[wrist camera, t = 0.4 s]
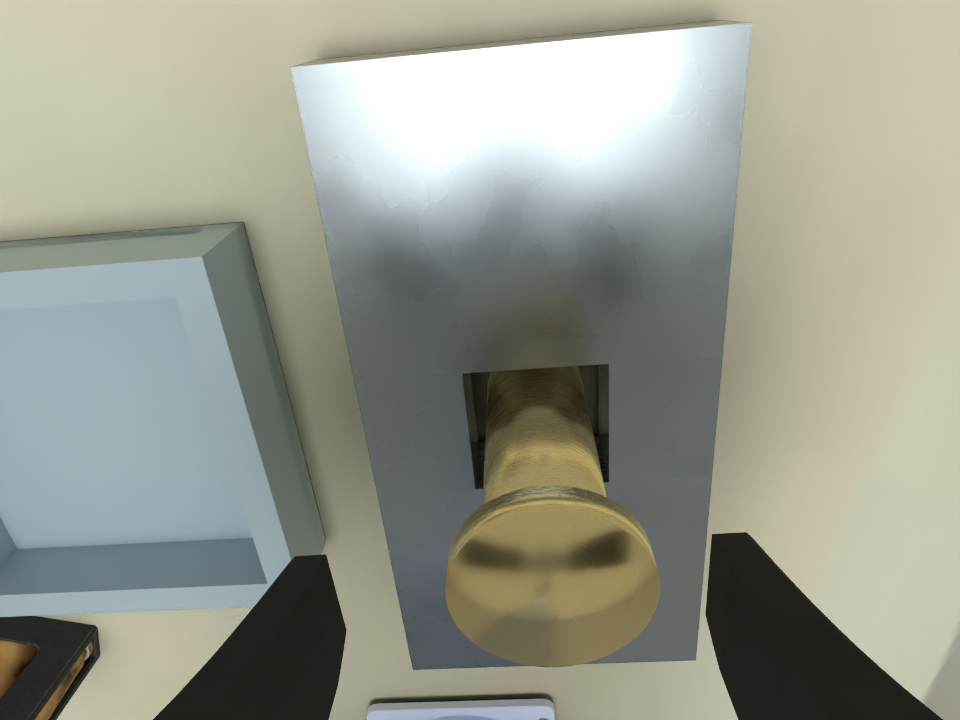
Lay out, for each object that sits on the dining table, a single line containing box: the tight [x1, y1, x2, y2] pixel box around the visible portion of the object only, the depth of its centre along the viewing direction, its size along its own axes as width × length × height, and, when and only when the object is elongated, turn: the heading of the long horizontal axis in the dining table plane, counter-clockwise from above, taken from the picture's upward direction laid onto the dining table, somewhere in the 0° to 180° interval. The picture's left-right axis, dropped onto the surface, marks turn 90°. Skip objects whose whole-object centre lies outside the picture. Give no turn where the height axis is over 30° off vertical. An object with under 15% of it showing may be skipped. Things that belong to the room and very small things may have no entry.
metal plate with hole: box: [291, 20, 752, 670], centre depth 20 cm, size 20×10×2 cm, turn 5°
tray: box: [0, 222, 326, 617], centre depth 21 cm, size 12×12×3 cm
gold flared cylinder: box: [445, 366, 660, 667], centre depth 18 cm, size 4×4×9 cm
